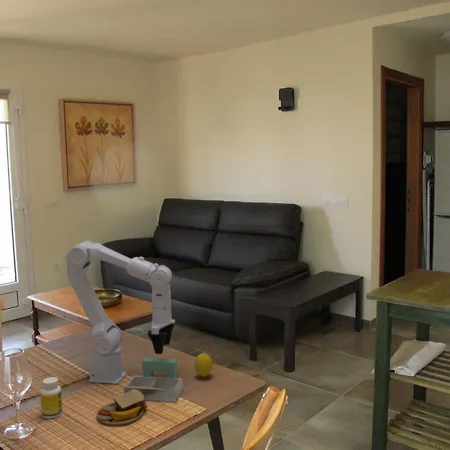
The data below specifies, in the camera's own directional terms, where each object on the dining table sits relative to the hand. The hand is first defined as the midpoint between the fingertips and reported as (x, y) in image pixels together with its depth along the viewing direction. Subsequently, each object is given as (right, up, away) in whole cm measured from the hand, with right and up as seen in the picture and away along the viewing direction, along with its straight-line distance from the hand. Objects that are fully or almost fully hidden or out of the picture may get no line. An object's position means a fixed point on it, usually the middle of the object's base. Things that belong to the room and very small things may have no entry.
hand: (162, 348), depth 161 cm
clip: (-1, -10, +2) cm, 10 cm away
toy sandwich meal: (-9, -14, -19) cm, 25 cm away
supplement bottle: (-28, -14, -19) cm, 36 cm away
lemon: (+13, -10, +3) cm, 16 cm away
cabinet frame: (-2, -11, -8) cm, 14 cm away
